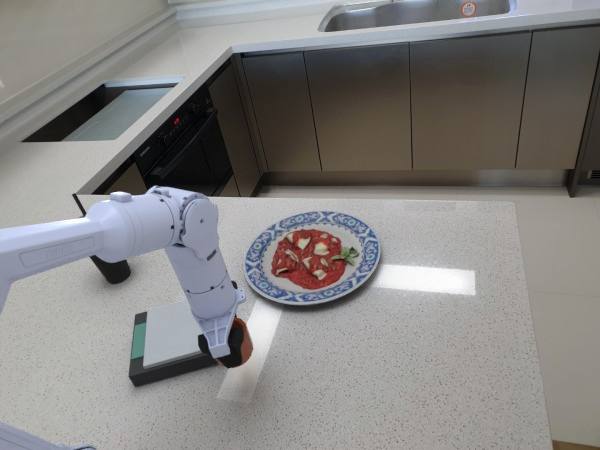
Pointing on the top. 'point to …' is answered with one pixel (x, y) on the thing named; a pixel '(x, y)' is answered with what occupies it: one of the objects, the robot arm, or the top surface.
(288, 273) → the ceramic plate
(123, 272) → the drinking cup
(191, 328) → the scale
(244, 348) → the flower pot
